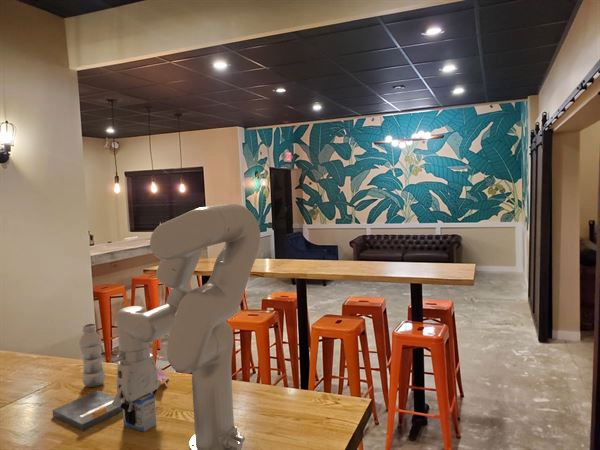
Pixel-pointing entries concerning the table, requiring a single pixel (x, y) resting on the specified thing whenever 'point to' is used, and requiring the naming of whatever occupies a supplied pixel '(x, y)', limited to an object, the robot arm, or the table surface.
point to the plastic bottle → (91, 357)
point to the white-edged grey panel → (88, 410)
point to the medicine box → (143, 413)
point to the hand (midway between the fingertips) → (139, 418)
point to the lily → (161, 375)
